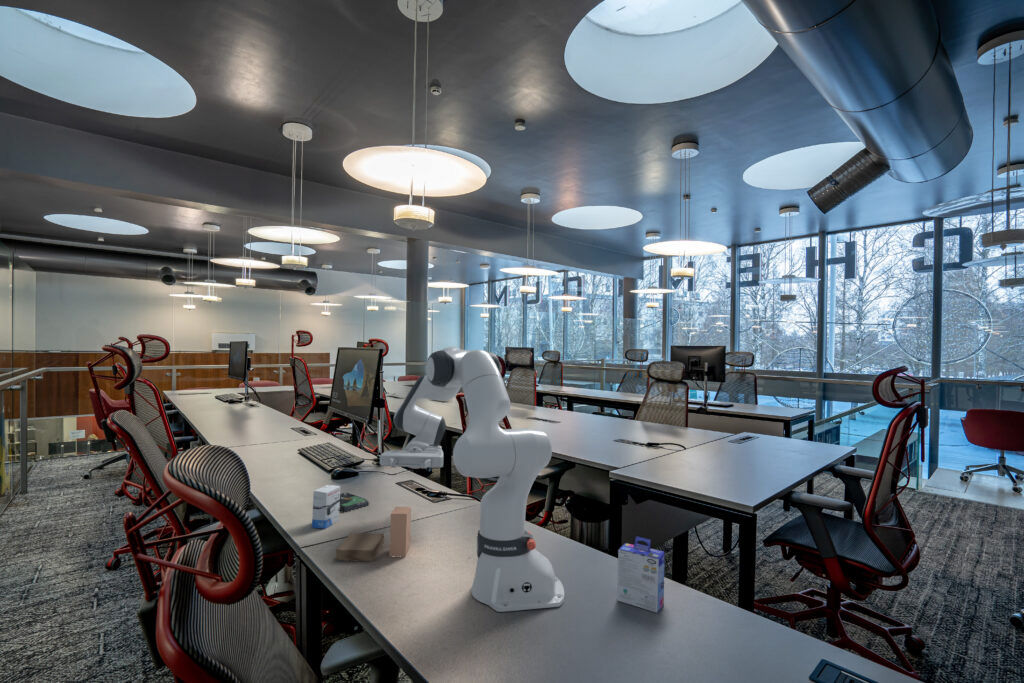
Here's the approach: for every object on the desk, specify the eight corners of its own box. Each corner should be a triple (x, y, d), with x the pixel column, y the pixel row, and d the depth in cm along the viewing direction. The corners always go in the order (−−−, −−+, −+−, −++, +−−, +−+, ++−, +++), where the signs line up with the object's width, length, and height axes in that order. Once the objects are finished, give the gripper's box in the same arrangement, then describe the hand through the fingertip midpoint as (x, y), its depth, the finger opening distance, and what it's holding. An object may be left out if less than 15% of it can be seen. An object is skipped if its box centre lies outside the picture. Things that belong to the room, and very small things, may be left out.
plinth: (384, 543, 140) (384, 533, 140) (372, 561, 128) (373, 550, 128) (350, 543, 140) (350, 532, 140) (336, 560, 128) (336, 549, 128)
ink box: (324, 529, 150) (326, 492, 150) (311, 528, 151) (312, 491, 151) (339, 520, 158) (341, 485, 159) (326, 519, 159) (327, 484, 160)
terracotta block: (409, 548, 137) (411, 507, 137) (405, 557, 131) (406, 514, 131) (394, 548, 137) (395, 506, 137) (389, 557, 131) (390, 513, 131)
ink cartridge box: (665, 603, 110) (666, 541, 110) (658, 614, 105) (659, 549, 105) (624, 591, 115) (625, 531, 115) (616, 601, 110) (617, 539, 111)
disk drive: (321, 505, 175) (344, 514, 166) (321, 498, 175) (345, 506, 166) (345, 499, 183) (369, 506, 174) (346, 492, 183) (369, 499, 174)
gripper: (385, 444, 158) (374, 454, 144) (446, 446, 159) (441, 456, 145) (384, 463, 158) (373, 474, 144) (445, 464, 159) (440, 476, 145)
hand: (408, 465), depth 145 cm, fingers open, 8 cm apart
